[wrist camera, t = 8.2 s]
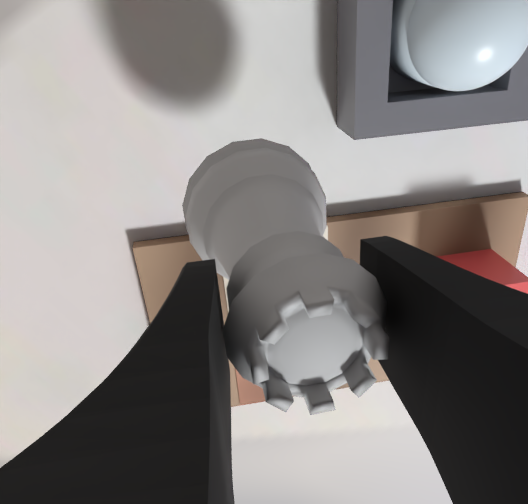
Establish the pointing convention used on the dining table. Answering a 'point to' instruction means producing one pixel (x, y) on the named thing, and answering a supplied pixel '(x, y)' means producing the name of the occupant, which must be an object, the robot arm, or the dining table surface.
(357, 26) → the dome housing
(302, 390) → the rook chess piece
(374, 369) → the game board
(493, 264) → the red die
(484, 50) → the dome button
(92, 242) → the dining table surface
